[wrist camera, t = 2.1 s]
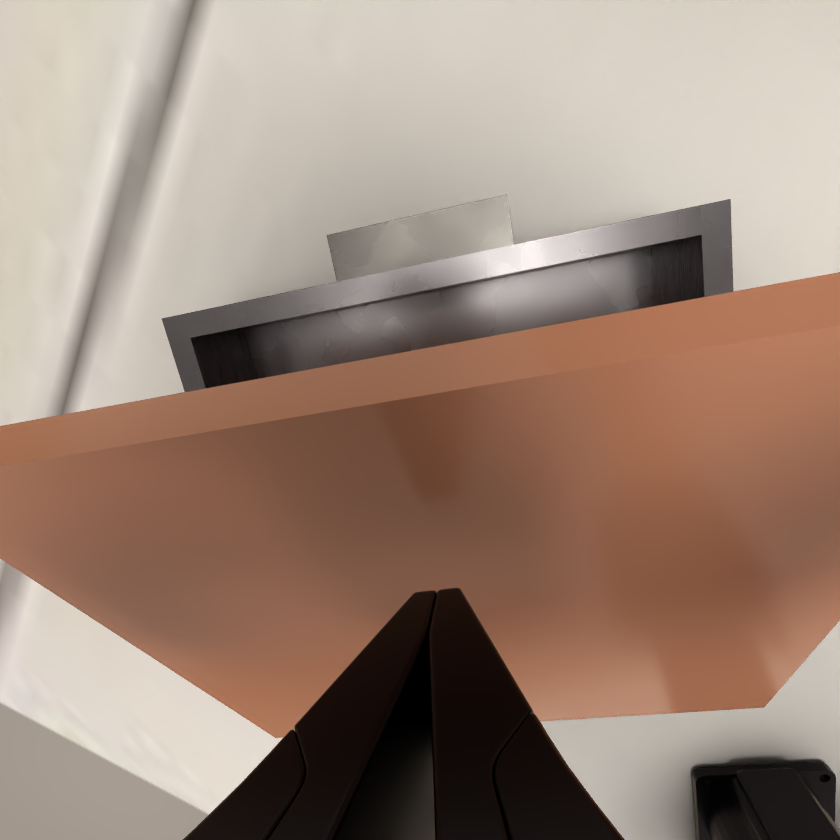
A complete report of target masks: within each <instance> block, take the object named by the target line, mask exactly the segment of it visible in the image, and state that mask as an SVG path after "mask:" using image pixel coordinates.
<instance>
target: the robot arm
mask: <svg viewBox="0 0 840 840" xmlns="http://www.w3.org/2000/svg"><path fill="white" fill-rule="evenodd" d="M294 730H295V731H294ZM294 730H290V731H289V732H288V733H287V734H286V735H285V737H284V738H283V739H282V740H281V741H280V742H279V743H278V744H277V745H276V747H275V748H274V749H273V750H272V751H271V752H270V753H269V754H268V755H267V756H266V757H265V758H264V759H263V761H262V762H261V763H260V764H259V765H258V766H257V767H256V768H255V769H254V770H253V771H252V772H251V773H250V774H249V775H248V776H247V778H246V779H245V780H244V781H243V782H242V783H241V784H240V785H239V786H238V787H237V788H236V789H235V790H234V791H233V792H232V793H231V794H230V795H229V796H228V797H227V798H226V799H225V800H223V801H222V802H221V803H220V804H219V805H218V806H217V807H216V808H215V809H214V810H213V811H212V812H211V813H210V814H209V815H208V816H207V817H206V818H205V819H204V820H203V821H202V822H201V823H200V824H199V825H198V826H197V827H196V828H195V829H194V830H193V831H192V832H191V833H189V834H188V836H186V838H184V839H183V840H624V838H623V837H622V836H621V834H620V833H619V832H618V831H617V829H616V828H615V827H614V826H613V824H612V823H611V822H610V821H609V819H608V818H607V817H606V816H605V814H604V813H603V812H602V810H601V809H600V808H599V807H598V805H597V804H596V803H595V802H594V800H593V799H592V798H591V796H590V795H589V793H588V792H587V791H586V789H585V788H584V787H583V785H582V784H581V783H580V781H579V780H578V779H577V777H576V776H575V775H574V773H573V772H572V771H571V769H570V768H569V767H568V765H567V764H566V762H565V760H564V759H563V757H562V756H561V754H560V753H559V751H558V750H557V748H556V747H555V745H554V743H553V742H552V740H551V739H550V737H549V736H548V734H547V732H546V731H545V729H544V727H543V726H542V724H541V722H540V721H539V719H538V717H537V716H536V715H535V714H534V712H533V710H532V708H531V706H530V705H529V703H528V701H527V699H526V698H525V696H524V694H523V693H522V691H521V689H520V688H519V686H518V684H517V683H516V681H515V679H514V678H513V676H512V674H511V673H510V671H509V669H508V668H507V666H506V664H505V663H504V661H503V659H502V658H501V656H500V654H499V652H498V651H497V649H496V647H495V646H494V644H493V642H492V641H491V639H490V637H489V636H488V634H487V632H486V631H485V629H484V627H483V626H482V624H481V622H480V621H479V619H478V617H477V616H476V614H475V612H474V610H473V609H472V607H471V605H470V604H469V602H468V600H467V599H466V597H465V595H464V594H463V592H462V590H461V589H460V588H448V589H441V590H439V591H438V592H436V591H434V590H430V591H421V592H415V593H414V594H412V595H411V597H410V598H409V599H408V600H407V601H406V602H405V603H404V604H403V606H402V607H401V608H400V609H399V610H398V611H397V612H396V613H395V614H394V616H393V617H392V618H391V619H390V620H389V621H388V622H387V623H386V624H385V626H384V627H383V628H382V629H381V630H380V631H379V632H378V633H377V634H376V636H375V637H374V638H373V639H372V640H371V641H370V642H369V643H368V644H367V646H366V647H365V648H364V649H363V650H362V651H361V652H360V653H359V654H358V656H357V657H356V658H355V659H354V660H353V661H352V662H351V663H350V664H349V666H348V667H347V668H346V669H345V670H344V671H343V672H342V673H341V674H340V676H339V677H338V678H337V679H336V680H335V681H334V682H333V683H332V684H331V686H330V687H329V688H328V689H327V690H326V691H325V692H324V693H323V695H322V696H321V697H320V698H319V699H318V700H317V701H316V702H315V703H314V705H313V706H312V707H311V708H310V709H309V710H308V711H307V712H306V713H305V715H304V716H303V717H302V718H301V719H300V720H299V721H298V722H297V723H296V725H295V726H294ZM692 783H693V799H694V814H695V829H696V840H840V830H839V828H838V827H837V826H836V824H835V792H836V776H835V774H834V773H833V772H832V770H831V769H830V768H829V766H828V765H827V764H824V763H800V764H778V765H756V766H735V767H713V768H699V769H697V770H695V771H694V772H693V774H692Z"/></svg>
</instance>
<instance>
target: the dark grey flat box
mask: <svg viewBox="0 0 840 840" xmlns="http://www.w3.org/2000/svg"><path fill="white" fill-rule="evenodd" d="M327 238H328V243H329V247H330V252H331V256H332V261H333V265H334V270H335V274H336V279H337V282H334V283H329V284H324V285H320V286H315V287H310V288H305V289H301V290H296V291H291V292H286V293H281V294H277V295H272V296H267V297H262V298H258V299H253V300H248V301H243V302H239V303H234V304H229V305H224V306H220V307H215V308H210V309H205V310H201V311H196V312H191V313H186V314H182V315H177V316H172V317H167V318H163V319H162V321H163V324H164V327H165V330H166V334H167V337H168V340H169V343H170V346H171V349H172V353H173V356H174V359H175V362H176V365H177V368H178V372H179V375H180V378H181V381H182V384H183V387H184V390H185V392H189V391H195V390H200V389H206V388H211V387H217V386H222V385H228V384H233V383H239V382H244V381H249V380H255V379H260V378H266V377H271V376H277V375H282V374H288V373H293V372H299V371H304V370H309V369H315V368H320V367H326V366H331V365H337V364H342V363H348V362H353V361H359V360H364V359H369V358H375V357H380V356H386V355H391V354H397V353H402V352H408V351H413V350H419V349H424V348H429V347H435V346H440V345H446V344H451V343H457V342H462V341H468V340H473V339H479V338H484V337H489V336H495V335H500V334H506V333H511V332H517V331H522V330H528V329H533V328H539V327H544V326H549V325H555V324H560V323H566V322H571V321H577V320H582V319H588V318H593V317H599V316H604V315H609V314H615V313H620V312H626V311H631V310H637V309H642V308H648V307H653V306H659V305H664V304H669V303H675V302H680V301H686V300H691V299H697V298H702V297H708V296H713V295H719V294H724V293H729V292H733V268H732V235H731V201H730V199H728V200H724V201H719V202H714V203H709V204H705V205H700V206H695V207H690V208H686V209H681V210H676V211H671V212H666V213H662V214H657V215H652V216H647V217H643V218H638V219H633V220H628V221H624V222H619V223H614V224H609V225H605V226H600V227H595V228H590V229H586V230H581V231H576V232H571V233H567V234H562V235H557V236H552V237H548V238H543V239H538V240H533V241H529V242H524V243H519V244H514V241H513V233H512V226H511V219H510V211H509V204H508V196H507V195H502V196H498V197H494V198H489V199H485V200H480V201H476V202H472V203H467V204H463V205H458V206H454V207H449V208H445V209H441V210H436V211H432V212H427V213H423V214H419V215H414V216H410V217H405V218H401V219H396V220H392V221H388V222H383V223H379V224H374V225H370V226H366V227H361V228H357V229H352V230H348V231H343V232H339V233H335V234H330V235H327Z"/></svg>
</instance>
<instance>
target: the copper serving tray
mask: <svg viewBox="0 0 840 840" xmlns="http://www.w3.org/2000/svg"><path fill="white" fill-rule="evenodd" d="M0 559H2V560H4V561H5V562H7V563H8V564H10V565H11V566H13V567H14V568H16V569H17V570H19V571H20V572H22V573H23V574H25V575H27V576H28V577H30V578H31V579H33V580H34V581H36V582H37V583H39V584H40V585H42V586H43V587H45V588H47V589H48V590H50V591H51V592H53V593H54V594H56V595H57V596H59V597H60V598H62V599H63V600H65V601H66V602H68V603H70V604H71V605H73V606H74V607H76V608H77V609H79V610H80V611H82V612H83V613H85V614H86V615H88V616H89V617H91V618H93V619H94V620H96V621H97V622H99V623H100V624H102V625H103V626H105V627H106V628H108V629H109V630H111V631H112V632H114V633H116V634H117V635H119V636H120V637H122V638H123V639H125V640H126V641H128V642H129V643H131V644H132V645H134V646H135V647H137V648H139V649H140V650H142V651H143V652H145V653H146V654H148V655H149V656H151V657H152V658H154V659H155V660H157V661H158V662H160V663H162V664H163V665H165V666H166V667H168V668H169V669H171V670H172V671H174V672H175V673H177V674H178V675H180V676H181V677H183V678H185V679H186V680H188V681H189V682H191V683H192V684H194V685H195V686H197V687H198V688H200V689H201V690H203V691H205V692H206V693H208V694H209V695H211V696H212V697H214V698H215V699H217V700H218V701H220V702H221V703H223V704H224V705H226V706H228V707H229V708H231V709H232V710H234V711H235V712H237V713H238V714H240V715H241V716H243V717H244V718H246V719H247V720H249V721H251V722H252V723H254V724H255V725H257V726H258V727H260V728H261V729H263V730H264V731H266V732H267V733H269V734H270V735H272V736H274V737H275V738H281V737H285V735H286V734H287V733H288V732H289V731H290V730H294V726H295V725H296V723H297V722H298V721H299V720H300V719H301V718H302V717H303V716H304V715H305V713H306V712H307V711H308V710H309V709H310V708H311V707H312V706H313V705H314V703H315V702H316V701H317V700H318V699H319V698H320V697H321V696H322V695H323V693H324V692H325V691H326V690H327V689H328V688H329V687H330V686H331V684H332V683H333V682H334V681H335V680H336V679H337V678H338V677H339V676H340V674H341V673H342V672H343V671H344V670H345V669H346V668H347V667H348V666H349V664H350V663H351V662H352V661H353V660H354V659H355V658H356V657H357V656H358V654H359V653H360V652H361V651H362V650H363V649H364V648H365V647H366V646H367V644H368V643H369V642H370V641H371V640H372V639H373V638H374V637H375V636H376V634H377V633H378V632H379V631H380V630H381V629H382V628H383V627H384V626H385V624H386V623H387V622H388V621H389V620H390V619H391V618H392V617H393V616H394V614H395V613H396V612H397V611H398V610H399V609H400V608H401V607H402V606H403V604H404V603H405V602H406V601H407V600H408V599H409V598H410V597H411V595H412V594H414V593H415V592H421V591H430V590H434V591H436V592H438V591H439V590H441V589H448V588H460V589H461V590H462V592H463V594H464V595H465V597H466V599H467V600H468V602H469V604H470V605H471V607H472V609H473V610H474V612H475V614H476V616H477V617H478V619H479V621H480V622H481V624H482V626H483V627H484V629H485V631H486V632H487V634H488V636H489V637H490V639H491V641H492V642H493V644H494V646H495V647H496V649H497V651H498V652H499V654H500V656H501V658H502V659H503V661H504V663H505V664H506V666H507V668H508V669H509V671H510V673H511V674H512V676H513V678H514V679H515V681H516V683H517V684H518V686H519V688H520V689H521V691H522V693H523V694H524V696H525V698H526V699H527V701H528V703H529V705H530V706H531V708H532V710H533V712H534V714H535V715H536V716H537V717H538V719H539V721H553V720H569V719H585V718H601V717H617V716H633V715H649V714H666V713H682V712H698V711H714V710H730V709H746V708H762V707H765V706H766V704H767V703H768V702H769V701H770V700H771V699H772V698H773V696H774V695H775V694H776V693H777V692H778V691H779V689H780V688H781V687H782V686H783V685H784V684H785V683H786V681H787V680H788V679H789V678H790V677H791V676H792V675H793V673H794V672H795V671H796V670H797V669H798V668H799V666H800V665H801V664H802V663H803V662H804V661H805V660H806V658H807V657H808V656H809V655H810V654H811V653H812V651H813V650H814V649H815V648H816V647H817V646H818V645H819V643H820V642H821V641H822V640H823V639H824V638H825V636H826V635H827V634H828V633H829V632H830V631H831V630H832V628H833V627H834V626H835V625H836V624H837V623H838V621H839V620H840V272H839V273H833V274H828V275H822V276H817V277H811V278H806V279H800V280H795V281H789V282H784V283H779V284H773V285H768V286H762V287H757V288H751V289H746V290H740V291H735V292H729V293H724V294H719V295H713V296H708V297H702V298H697V299H691V300H686V301H680V302H675V303H669V304H664V305H659V306H653V307H648V308H642V309H637V310H631V311H626V312H620V313H615V314H609V315H604V316H599V317H593V318H588V319H582V320H577V321H571V322H566V323H560V324H555V325H549V326H544V327H539V328H533V329H528V330H522V331H517V332H511V333H506V334H500V335H495V336H489V337H484V338H479V339H473V340H468V341H462V342H457V343H451V344H446V345H440V346H435V347H429V348H424V349H419V350H413V351H408V352H402V353H397V354H391V355H386V356H380V357H375V358H369V359H364V360H359V361H353V362H348V363H342V364H337V365H331V366H326V367H320V368H315V369H309V370H304V371H299V372H293V373H288V374H282V375H277V376H271V377H266V378H260V379H255V380H249V381H244V382H239V383H233V384H228V385H222V386H217V387H211V388H206V389H200V390H195V391H189V392H184V393H179V394H173V395H168V396H162V397H157V398H151V399H146V400H140V401H135V402H129V403H124V404H119V405H113V406H108V407H102V408H97V409H91V410H86V411H80V412H75V413H70V414H64V415H59V416H53V417H48V418H42V419H37V420H31V421H26V422H20V423H15V424H10V425H4V426H0ZM294 731H295V730H294Z"/></svg>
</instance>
